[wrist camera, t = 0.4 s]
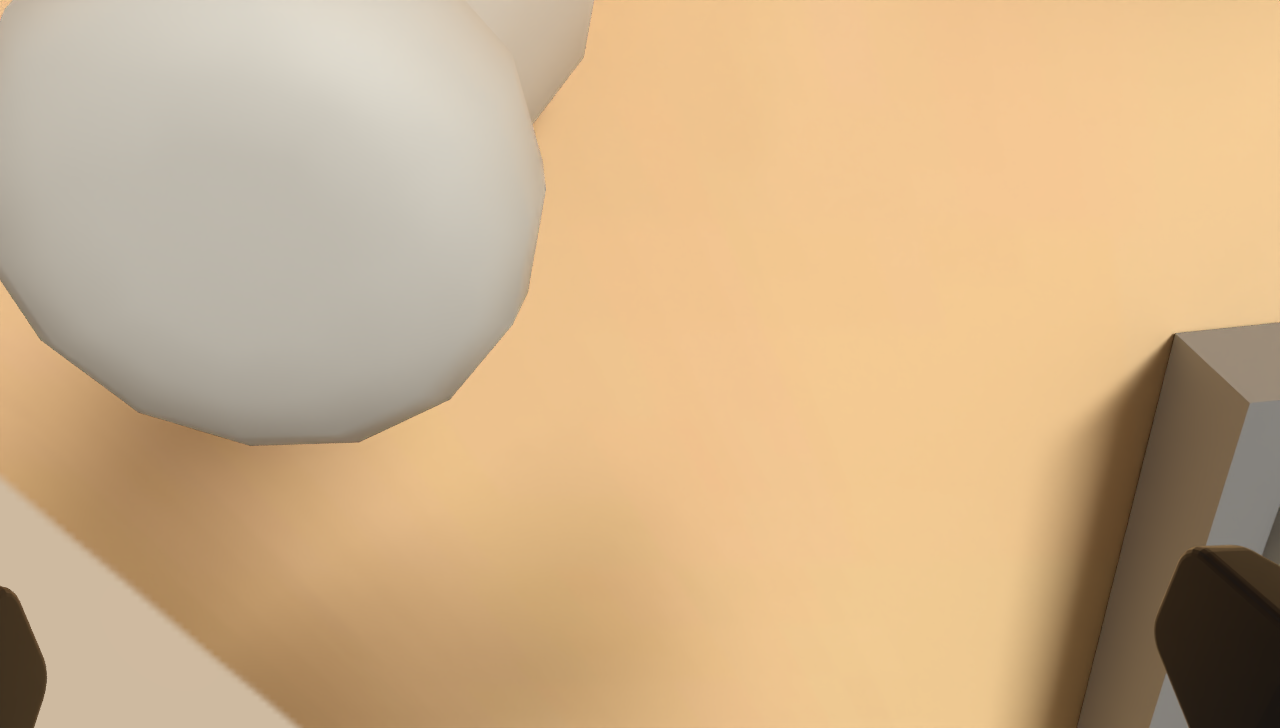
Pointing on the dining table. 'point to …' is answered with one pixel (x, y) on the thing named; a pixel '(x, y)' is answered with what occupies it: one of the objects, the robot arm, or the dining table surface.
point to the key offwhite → (1273, 541)
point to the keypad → (1188, 506)
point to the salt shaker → (276, 198)
